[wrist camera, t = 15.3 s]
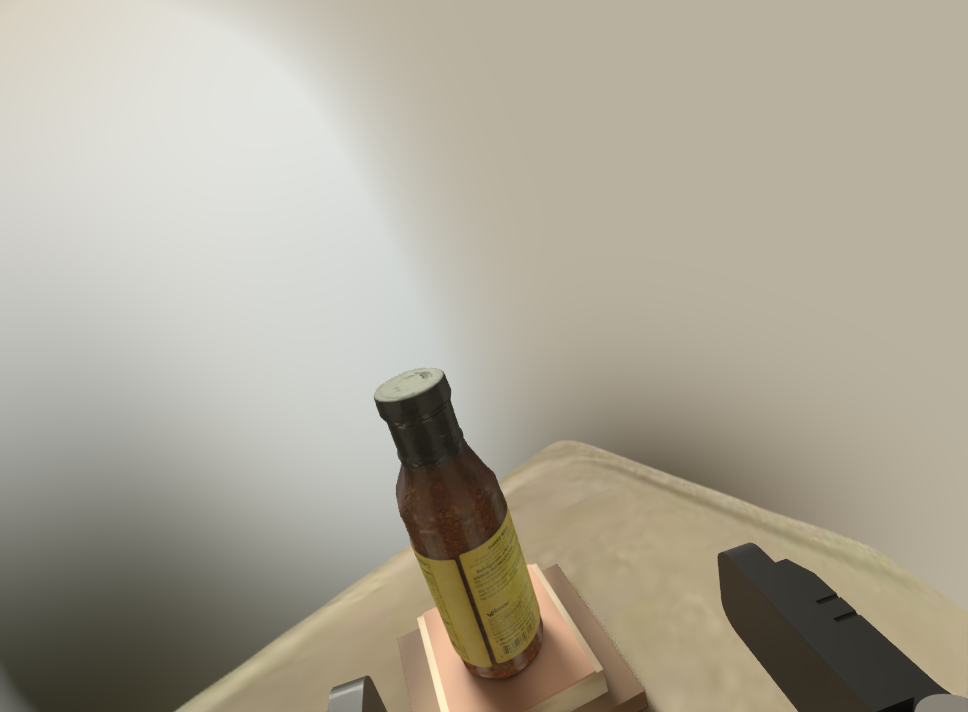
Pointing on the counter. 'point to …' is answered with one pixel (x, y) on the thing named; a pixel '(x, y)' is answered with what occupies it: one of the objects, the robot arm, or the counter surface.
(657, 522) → the counter surface
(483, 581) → the sauce bottle
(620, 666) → the pedestal
